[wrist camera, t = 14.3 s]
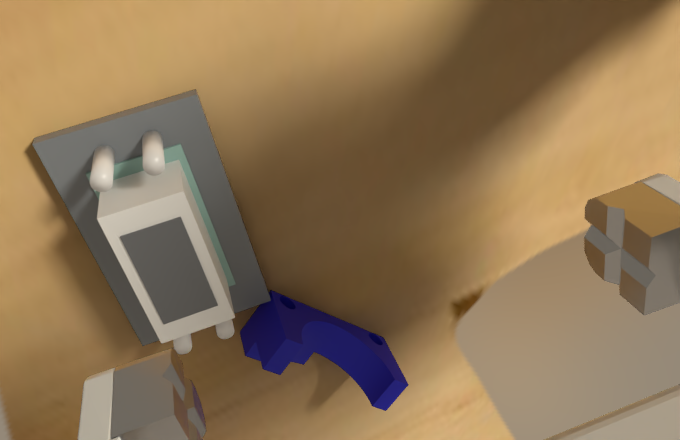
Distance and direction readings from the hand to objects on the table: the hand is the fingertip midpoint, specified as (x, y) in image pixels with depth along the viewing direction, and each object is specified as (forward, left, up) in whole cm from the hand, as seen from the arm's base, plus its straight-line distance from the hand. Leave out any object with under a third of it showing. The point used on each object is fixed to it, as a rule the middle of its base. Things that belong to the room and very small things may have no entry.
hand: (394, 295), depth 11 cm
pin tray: (+8, +13, -29) cm, 33 cm away
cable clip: (0, +27, -30) cm, 40 cm away
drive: (+8, +13, -28) cm, 32 cm away
